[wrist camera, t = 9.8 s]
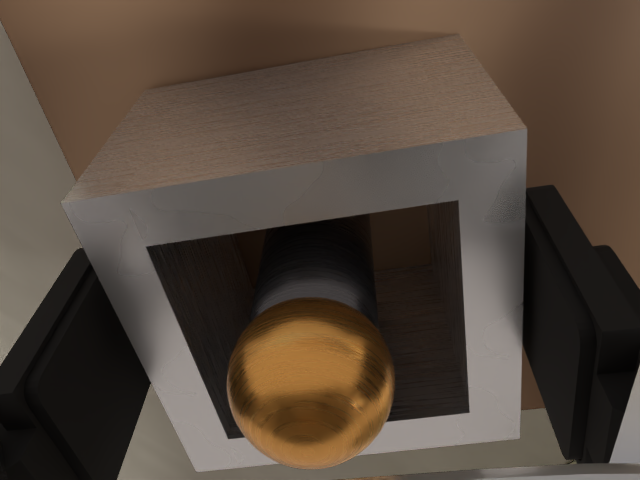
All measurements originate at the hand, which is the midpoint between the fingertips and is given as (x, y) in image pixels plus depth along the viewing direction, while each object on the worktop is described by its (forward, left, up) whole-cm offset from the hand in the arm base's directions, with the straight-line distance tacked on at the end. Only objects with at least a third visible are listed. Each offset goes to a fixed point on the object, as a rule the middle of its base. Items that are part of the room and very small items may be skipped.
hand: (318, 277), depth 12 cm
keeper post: (0, 0, -3) cm, 3 cm away
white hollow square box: (0, 0, -3) cm, 3 cm away
